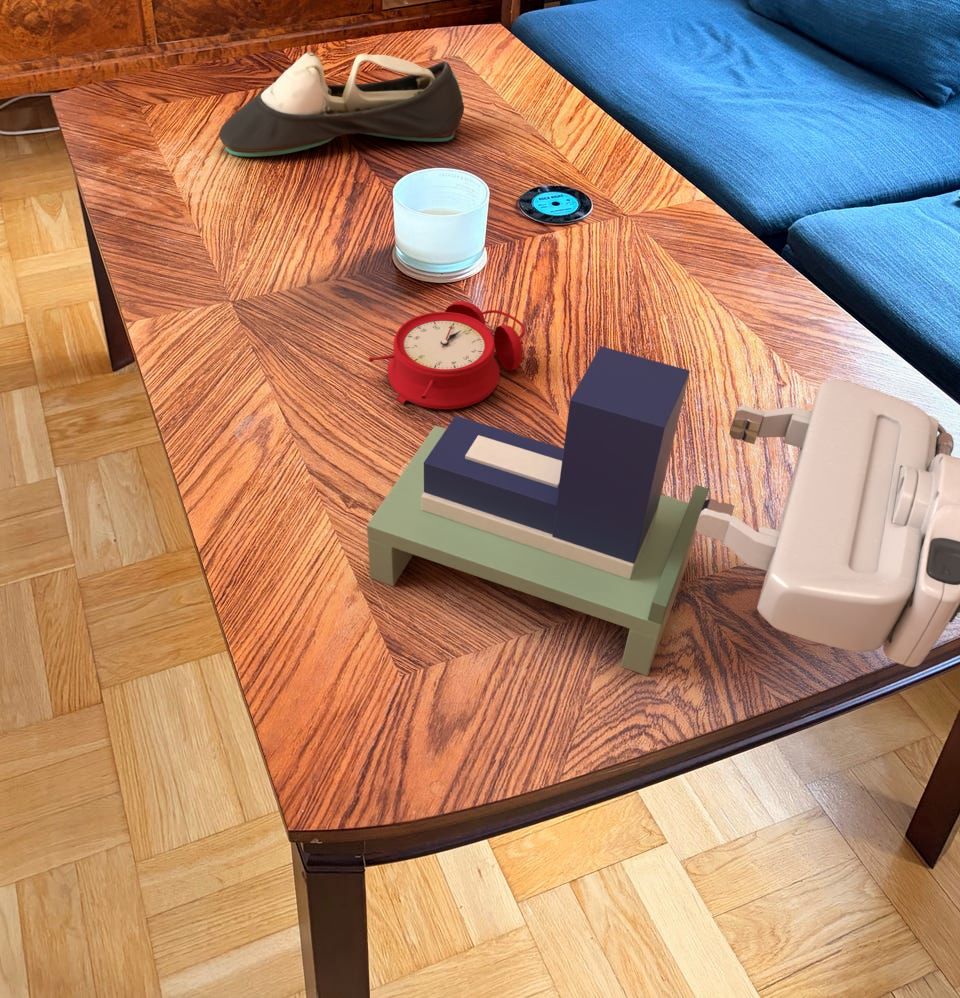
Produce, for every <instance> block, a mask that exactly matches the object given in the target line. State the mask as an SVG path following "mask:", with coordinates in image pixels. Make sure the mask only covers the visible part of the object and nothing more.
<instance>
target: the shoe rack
mask: <svg viewBox="0 0 960 998" xmlns="http://www.w3.org/2000/svg"><path fill="white" fill-rule="evenodd" d="M446 429H447V428H445V427H442V426H439V425H434V426H433V428H432V429H431V431H430V432H429V434H428V435H427V436H426V438H425V439H424V441H423V442H422V444H421V445H420V447H419V448H418V449H417V451H416V452H415V454H414V456H413V457H412V458H411V460H410V461H409V462H408V464H407V466H406V467H405V469H404V470H403V472H402V473H401V474H400V476H399V477H398V478H397V481H396V482H395V483H394V485H393V486H392V488H391V489H390V491H389V492H388V494H387V495H386V496H385V497H384V499H383V501H382V502H381V504H380V505H379V507H378V508H377V510H376V511H375V512H374V514H373V516H372V517H371V518H370V519H369V521H368V523H367V524H366V535H367V549H368V564H369V575H370V576H369V577H370V579H372V580H374V581H376V582H380V583H383V584H386V585H388V586H391V587H394V586H395V585H396V583H397V582H398V580H399V578H400V577H401V575H402V573H403V572H404V570H405V569H406V567H407V565H408V564H409V562H410V560H411V559H412V557H413V556H417V557H419V558H423V559H425V560H429V561H431V562H434V563H437V564H439V565H443V566H446V567H448V568H451V569H455V570H456V571H460V572H463V573H466V574H469V575H472V576H475V577H477V578H481V579H483V580H487V581H489V582H492V583H496V584H498V585H501V586H504V587H507V588H510V589H512V590H515V591H519V592H522V593H523V594H527V595H530V596H533V597H536V598H538V599H542V600H545V601H548V602H551V603H554V604H556V605H560V606H562V607H565V608H569V609H571V610H574V611H577V612H580V613H583V614H585V615H588V616H591V617H594V618H597V619H600V620H604V621H606V622H609V623H612V624H615V625H618V626H620V627H624V628H625V629H626V628H627V629H629V631H628V635H627V638H626V642H625V643H626V644H625V647H624V651H623V655H622V660H621V664H620V666H621V668H624V669H626V670H629V671H631V672H635V673H638V674H640V675H643V676H646V677H647V676H649V673H650V671H651V668H652V665H653V663H654V659H655V657H656V654H657V652H658V648H659V645H660V643H661V641H662V637H663V634H664V631H665V629H666V626H667V623H668V620H669V617H670V614H671V611H672V609H673V606H674V603H675V600H676V597H677V595H678V592H679V590H680V586H681V584H682V580H683V579H684V575H685V572H686V569H687V568H688V564H689V561H690V558H691V554H692V550H693V548H694V543H695V540H696V537H697V534H698V532H697V531H696V526H697V522H698V519H699V515H700V513H701V510H702V507H703V505H704V502H705V500H707V497H708V494H709V491H710V489H709V488H708V487H706V486H705V487H704V486H702V485H698V484H696V485H695V486H694V488H693V491H692V493H691V497H690V499H689V501H688V502H687V501H684V500H680V499H677V498H674V497H671V496H667V495H664V494H661V496H660V500H659V505H658V510H657V514H656V519H655V521H654V524H653V526H652V529H651V531H650V533H649V536H648V538H647V541H646V543H645V546H644V548H643V550H642V553H641V555H640V558H639V560H638V563H637V565H636V567H635V570H634V572H633V575H632V577H631V579H630V580H629V579H626V578H623V577H620V576H617V575H614V574H611V573H608V572H605V571H602V570H599V569H597V568H594V567H591V566H588V565H585V564H582V563H579V562H576V561H573V560H570V559H567V558H564V557H561V556H558V555H555V554H552V553H549V552H546V551H543V550H540V549H537V548H534V547H531V546H528V545H525V544H522V543H519V542H516V541H513V540H510V539H507V538H504V537H501V536H498V535H495V534H492V533H489V532H486V531H483V530H480V529H477V528H474V527H471V526H468V525H465V524H462V523H459V522H456V521H453V520H450V519H447V518H444V517H441V516H438V515H435V514H432V513H429V512H426V511H423V510H422V495H423V493H424V461H425V460H426V458H427V457H428V455H429V454H430V452H431V451H432V449H433V448H434V447H435V445H436V444H437V442H438V441H439V439H440V438H441V436H442V435H443V433H444V432H445V430H446Z"/></svg>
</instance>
